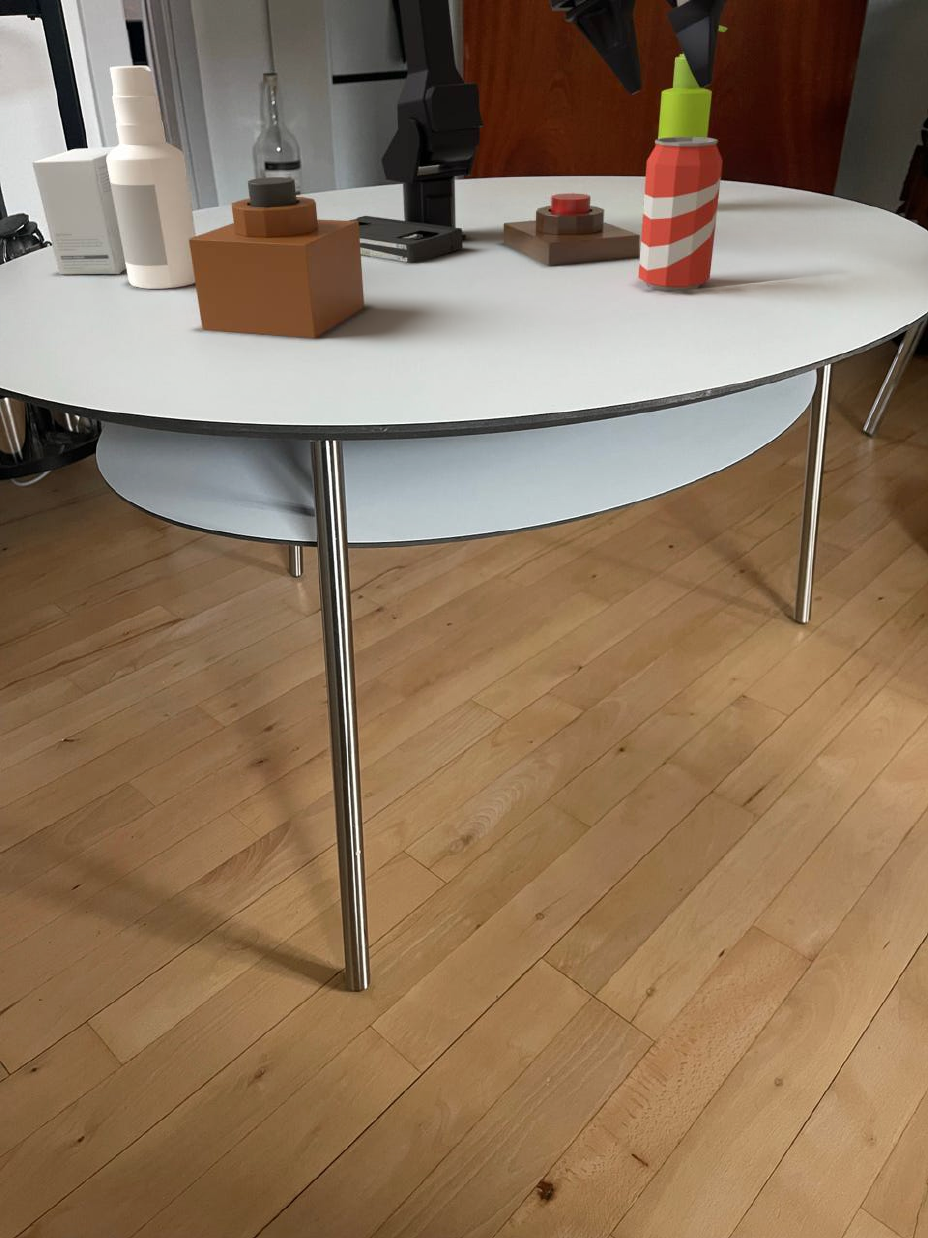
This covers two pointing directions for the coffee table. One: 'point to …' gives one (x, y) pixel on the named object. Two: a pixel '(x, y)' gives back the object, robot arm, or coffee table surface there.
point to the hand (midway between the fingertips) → (672, 89)
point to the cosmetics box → (81, 211)
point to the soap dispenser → (685, 104)
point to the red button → (570, 203)
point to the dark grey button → (272, 192)
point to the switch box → (571, 238)
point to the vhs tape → (406, 239)
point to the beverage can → (680, 213)
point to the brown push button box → (278, 271)
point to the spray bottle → (149, 187)
